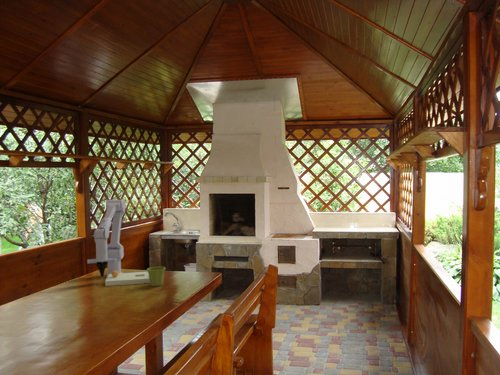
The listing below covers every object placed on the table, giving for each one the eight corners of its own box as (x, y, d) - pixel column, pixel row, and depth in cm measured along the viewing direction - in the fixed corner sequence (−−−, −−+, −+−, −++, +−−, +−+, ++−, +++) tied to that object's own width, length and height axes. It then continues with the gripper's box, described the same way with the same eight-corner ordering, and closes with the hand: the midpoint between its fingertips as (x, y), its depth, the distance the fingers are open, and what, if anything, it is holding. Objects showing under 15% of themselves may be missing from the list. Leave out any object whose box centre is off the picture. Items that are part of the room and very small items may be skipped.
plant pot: (143, 286, 212) (143, 269, 212) (153, 282, 221) (152, 266, 221) (160, 287, 210) (159, 270, 210) (168, 283, 219) (168, 267, 219)
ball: (112, 276, 226) (112, 270, 226) (118, 276, 227) (118, 269, 227) (111, 277, 223) (111, 271, 223) (118, 277, 223) (117, 271, 223)
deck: (109, 278, 233) (109, 271, 233) (153, 275, 238) (153, 268, 238) (105, 286, 215) (105, 278, 215) (152, 282, 220) (152, 275, 220)
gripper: (86, 252, 218) (86, 278, 218) (115, 251, 221) (115, 276, 221) (88, 250, 224) (89, 275, 225) (116, 249, 228) (116, 274, 228)
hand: (102, 276), depth 223 cm, fingers closed
